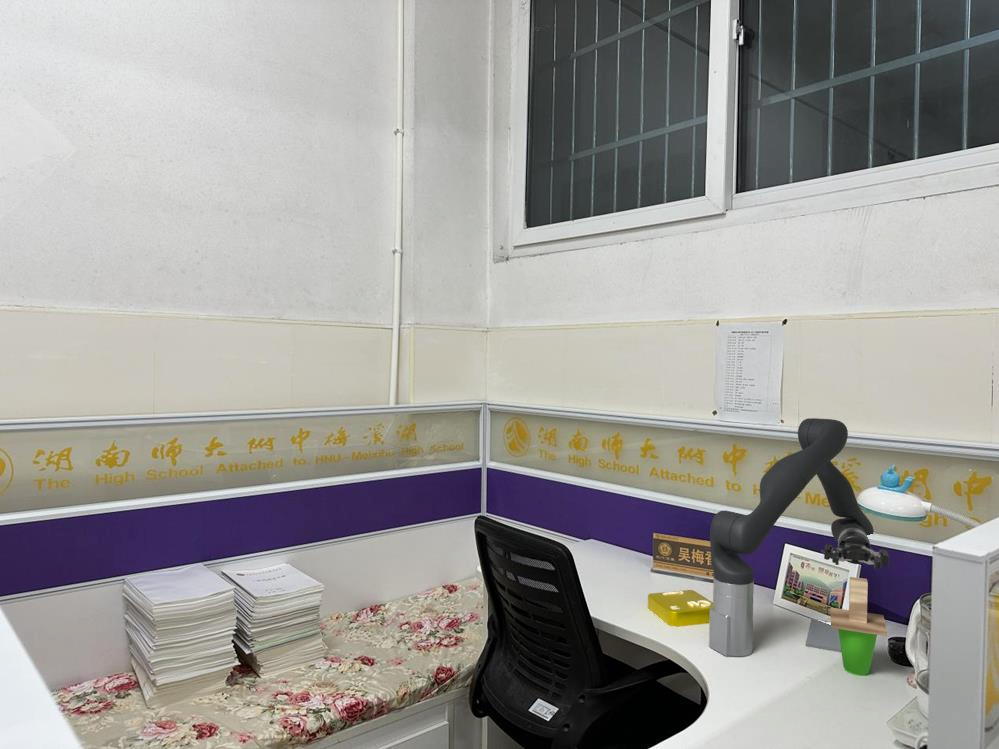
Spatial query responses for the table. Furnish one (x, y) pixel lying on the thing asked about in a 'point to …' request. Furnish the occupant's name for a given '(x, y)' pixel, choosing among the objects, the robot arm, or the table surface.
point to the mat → (823, 636)
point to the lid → (858, 612)
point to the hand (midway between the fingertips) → (856, 563)
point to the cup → (857, 651)
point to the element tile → (680, 607)
